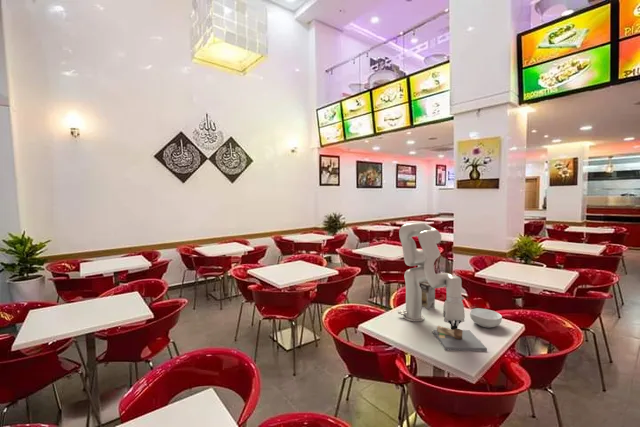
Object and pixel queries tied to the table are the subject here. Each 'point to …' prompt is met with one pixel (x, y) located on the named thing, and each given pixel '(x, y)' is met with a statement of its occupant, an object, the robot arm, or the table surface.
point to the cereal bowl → (485, 317)
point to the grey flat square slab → (460, 342)
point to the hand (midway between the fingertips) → (454, 332)
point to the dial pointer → (450, 332)
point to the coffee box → (427, 295)
